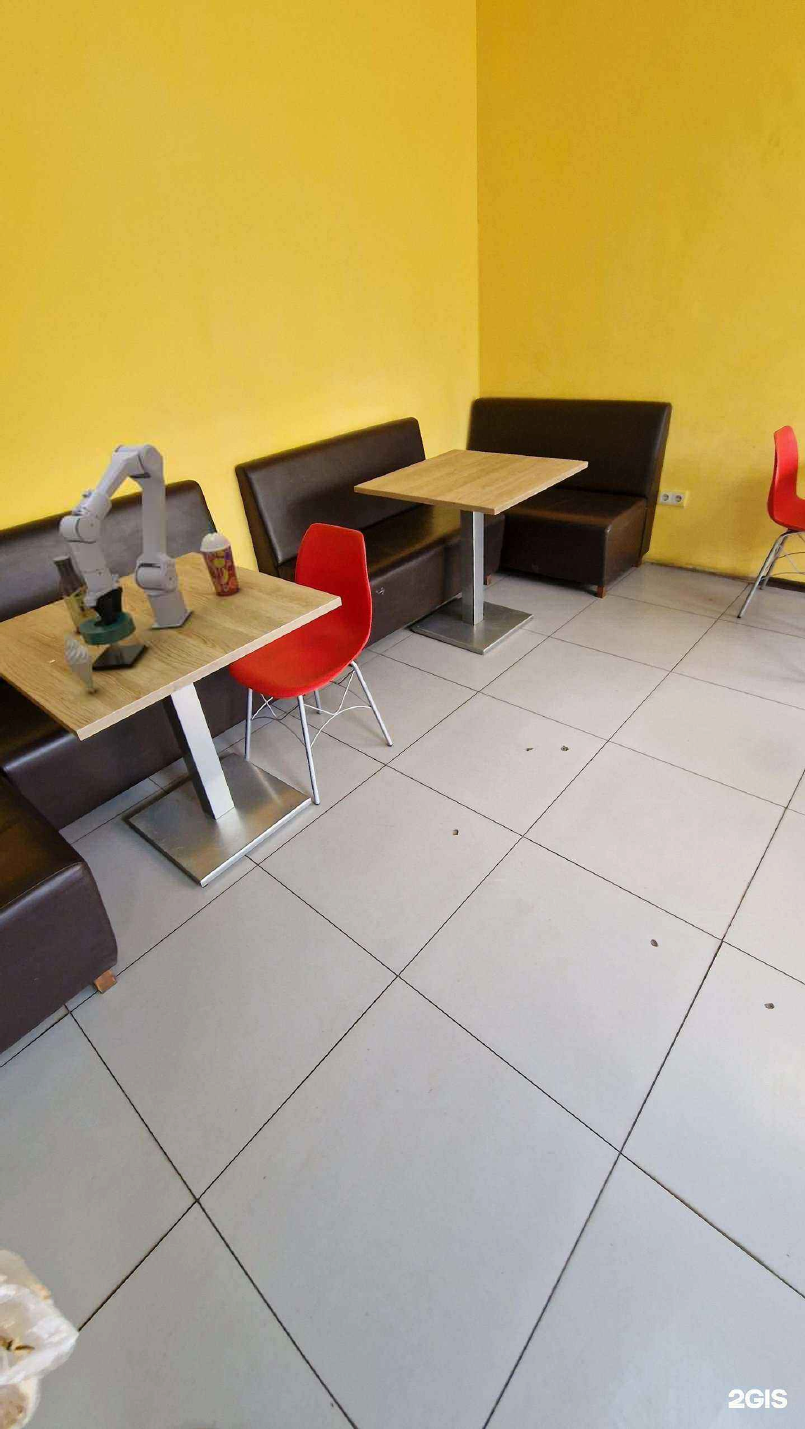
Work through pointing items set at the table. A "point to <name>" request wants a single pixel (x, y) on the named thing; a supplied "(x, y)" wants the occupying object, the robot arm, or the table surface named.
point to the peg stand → (118, 657)
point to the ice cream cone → (79, 661)
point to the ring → (107, 629)
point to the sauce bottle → (73, 591)
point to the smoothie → (219, 562)
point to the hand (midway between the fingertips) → (115, 621)
